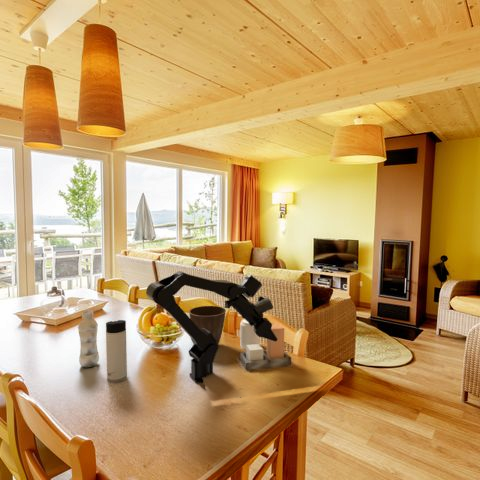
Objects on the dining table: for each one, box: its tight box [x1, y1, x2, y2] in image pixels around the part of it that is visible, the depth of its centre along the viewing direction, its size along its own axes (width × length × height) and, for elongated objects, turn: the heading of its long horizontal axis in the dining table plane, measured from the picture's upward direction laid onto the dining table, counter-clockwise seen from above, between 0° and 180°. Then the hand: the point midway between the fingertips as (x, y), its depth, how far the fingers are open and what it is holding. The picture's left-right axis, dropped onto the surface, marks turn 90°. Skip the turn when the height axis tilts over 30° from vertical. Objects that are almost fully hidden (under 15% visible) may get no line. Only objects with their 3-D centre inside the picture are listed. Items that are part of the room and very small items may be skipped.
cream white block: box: [245, 344, 264, 361], centre depth 121 cm, size 5×5×6 cm
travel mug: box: [105, 319, 128, 384], centre depth 110 cm, size 6×7×20 cm
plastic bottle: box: [77, 309, 100, 368], centre depth 120 cm, size 6×7×20 cm
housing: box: [236, 349, 295, 373], centre depth 122 cm, size 19×11×4 cm, turn 105°
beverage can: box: [239, 318, 261, 351], centre depth 136 cm, size 8×8×12 cm
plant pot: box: [188, 305, 227, 345], centre depth 136 cm, size 15×15×16 cm
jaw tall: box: [266, 323, 285, 359], centre depth 122 cm, size 5×5×13 cm
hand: (273, 335), depth 122 cm, fingers open, 9 cm apart
